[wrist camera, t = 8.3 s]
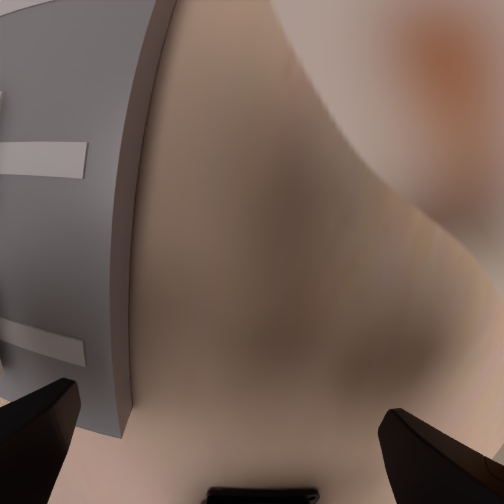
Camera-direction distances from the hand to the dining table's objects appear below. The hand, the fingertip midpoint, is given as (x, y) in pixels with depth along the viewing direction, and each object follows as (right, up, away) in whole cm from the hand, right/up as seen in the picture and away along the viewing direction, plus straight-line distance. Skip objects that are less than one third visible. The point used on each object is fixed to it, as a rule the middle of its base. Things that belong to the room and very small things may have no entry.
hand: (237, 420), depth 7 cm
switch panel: (-13, +9, +1) cm, 16 cm away
